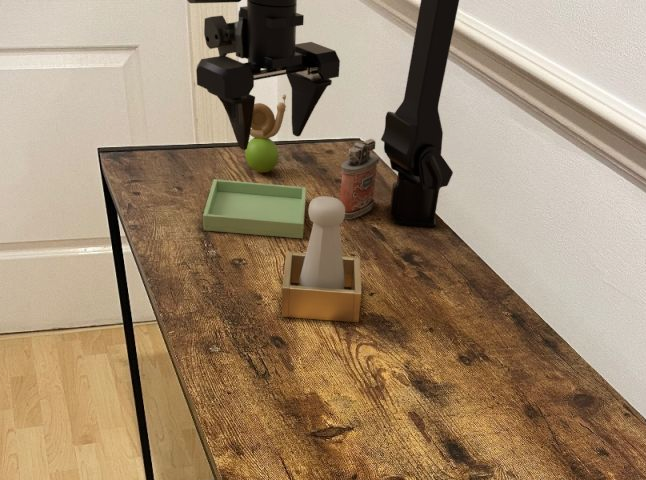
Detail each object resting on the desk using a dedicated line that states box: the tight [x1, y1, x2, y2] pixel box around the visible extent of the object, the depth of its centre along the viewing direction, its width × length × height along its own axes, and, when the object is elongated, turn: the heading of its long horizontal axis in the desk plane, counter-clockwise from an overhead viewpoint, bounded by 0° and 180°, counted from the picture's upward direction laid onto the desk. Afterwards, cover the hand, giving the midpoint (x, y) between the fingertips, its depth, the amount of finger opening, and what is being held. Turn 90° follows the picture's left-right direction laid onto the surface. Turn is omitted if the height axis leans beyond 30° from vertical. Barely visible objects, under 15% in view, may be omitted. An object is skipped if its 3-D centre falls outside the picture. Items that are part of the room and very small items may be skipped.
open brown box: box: [281, 251, 362, 323], centre depth 99 cm, size 10×10×4 cm
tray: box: [202, 178, 307, 239], centre depth 116 cm, size 14×13×2 cm
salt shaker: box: [298, 195, 346, 290], centre depth 96 cm, size 6×6×13 cm
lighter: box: [339, 138, 380, 220], centre depth 118 cm, size 8×3×10 cm, turn 148°
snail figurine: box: [244, 93, 287, 174], centre depth 125 cm, size 5×6×12 cm
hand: (270, 142), depth 101 cm, fingers open, 9 cm apart
